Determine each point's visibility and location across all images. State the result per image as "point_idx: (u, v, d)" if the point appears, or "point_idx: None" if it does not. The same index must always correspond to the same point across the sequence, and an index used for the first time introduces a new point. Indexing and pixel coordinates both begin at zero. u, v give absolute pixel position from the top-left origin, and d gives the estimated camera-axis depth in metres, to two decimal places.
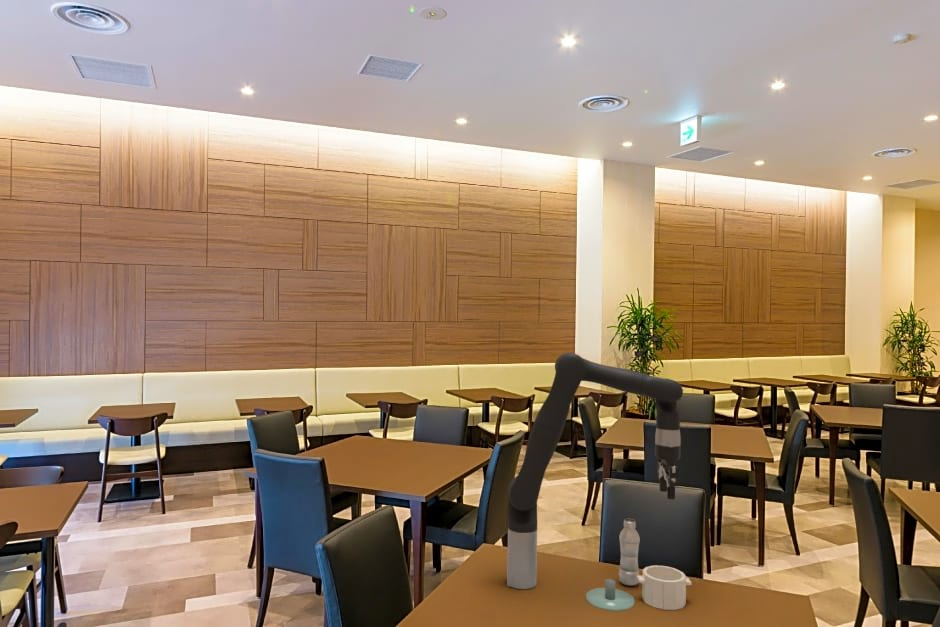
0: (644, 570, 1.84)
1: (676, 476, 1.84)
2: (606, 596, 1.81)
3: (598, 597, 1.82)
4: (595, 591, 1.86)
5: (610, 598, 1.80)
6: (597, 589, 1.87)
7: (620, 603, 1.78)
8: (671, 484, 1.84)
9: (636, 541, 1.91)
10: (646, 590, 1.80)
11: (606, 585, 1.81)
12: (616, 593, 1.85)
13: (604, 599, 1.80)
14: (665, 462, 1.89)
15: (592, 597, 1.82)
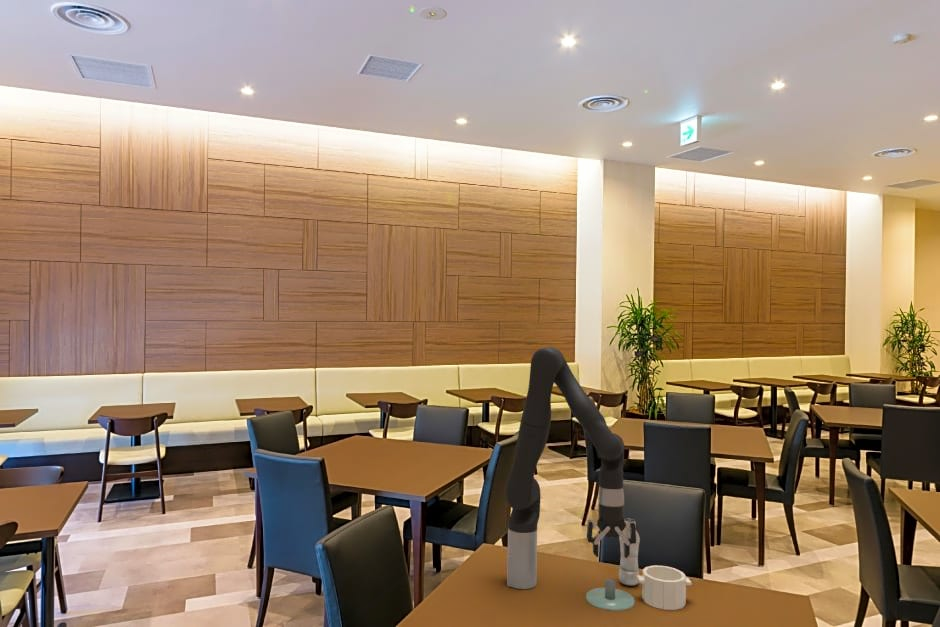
0: (644, 570, 1.84)
1: None
2: (606, 596, 1.81)
3: (598, 597, 1.82)
4: (595, 591, 1.86)
5: (610, 598, 1.80)
6: (597, 589, 1.87)
7: (620, 602, 1.78)
8: None
9: (636, 541, 1.91)
10: (646, 590, 1.80)
11: (606, 585, 1.81)
12: (616, 593, 1.85)
13: (604, 599, 1.80)
14: (617, 522, 1.81)
15: (592, 596, 1.82)
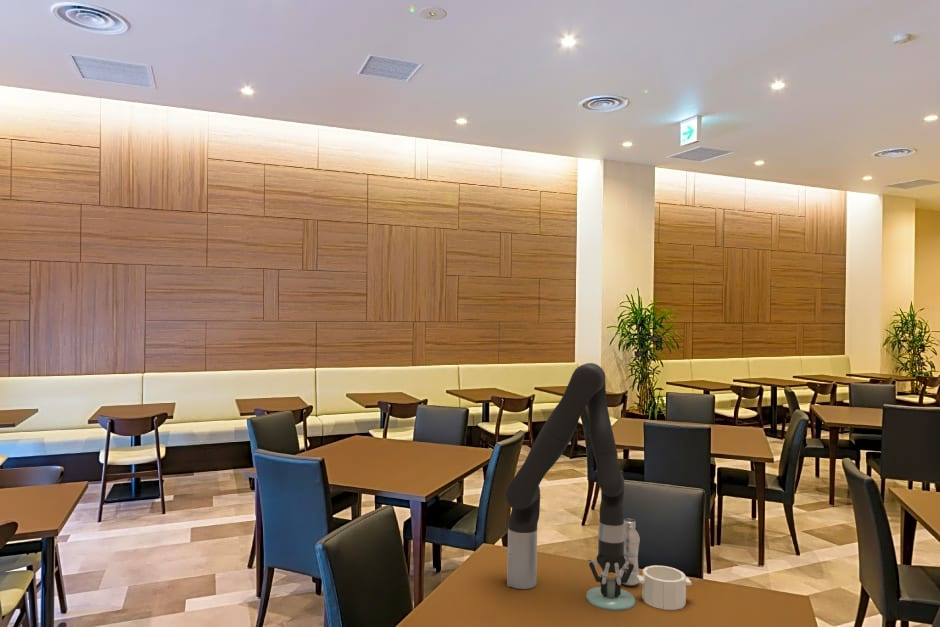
0: (644, 570, 1.84)
1: None
2: (606, 595, 1.81)
3: (598, 596, 1.82)
4: (596, 590, 1.86)
5: (610, 597, 1.80)
6: (597, 588, 1.87)
7: (620, 601, 1.78)
8: None
9: (636, 541, 1.91)
10: (646, 590, 1.80)
11: (606, 584, 1.81)
12: None
13: (604, 598, 1.80)
14: (617, 558, 1.81)
15: (592, 595, 1.82)
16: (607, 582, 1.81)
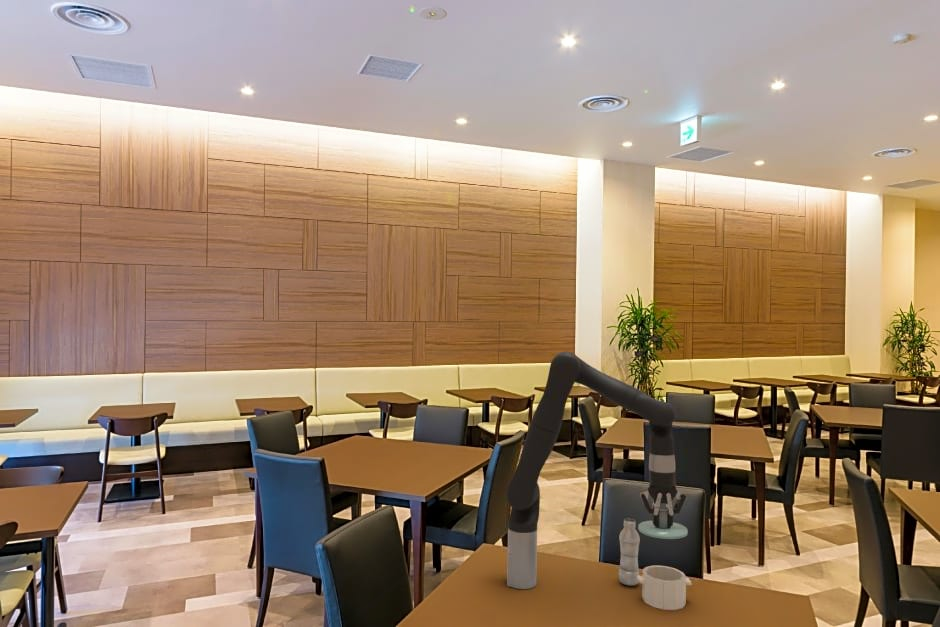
0: (644, 570, 1.84)
1: None
2: (659, 526, 1.81)
3: (650, 527, 1.82)
4: (647, 523, 1.86)
5: (663, 527, 1.80)
6: (648, 522, 1.87)
7: (674, 531, 1.78)
8: None
9: (636, 541, 1.91)
10: (646, 590, 1.80)
11: (658, 515, 1.81)
12: None
13: (657, 528, 1.81)
14: (669, 489, 1.81)
15: (644, 527, 1.82)
16: (659, 513, 1.81)
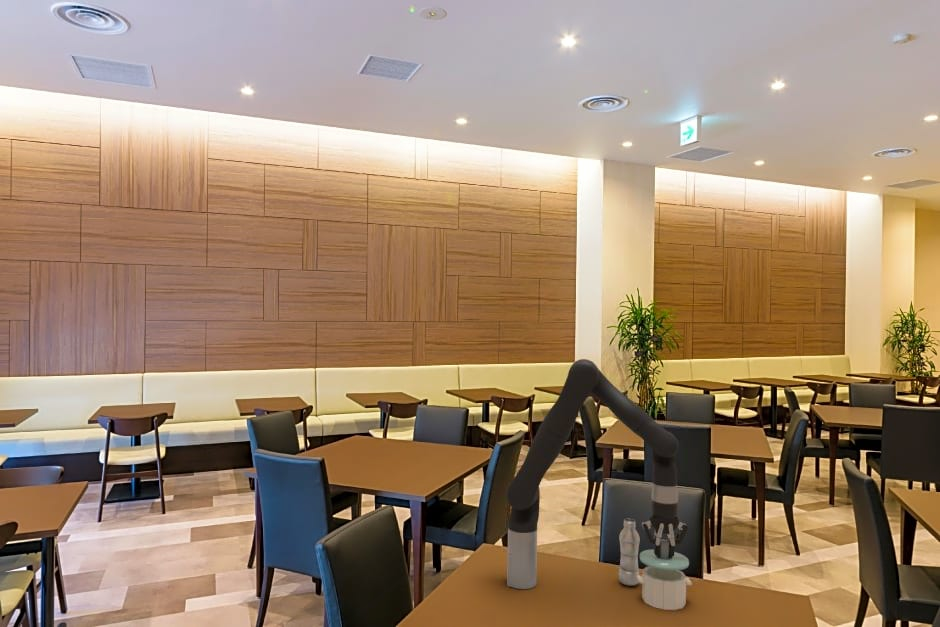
0: (644, 570, 1.84)
1: None
2: (660, 556, 1.81)
3: (651, 557, 1.82)
4: (648, 552, 1.86)
5: (664, 558, 1.81)
6: (650, 551, 1.87)
7: (675, 562, 1.79)
8: None
9: (636, 541, 1.91)
10: (646, 590, 1.80)
11: (660, 545, 1.81)
12: None
13: (658, 559, 1.81)
14: (671, 519, 1.81)
15: (646, 557, 1.82)
16: (661, 543, 1.81)
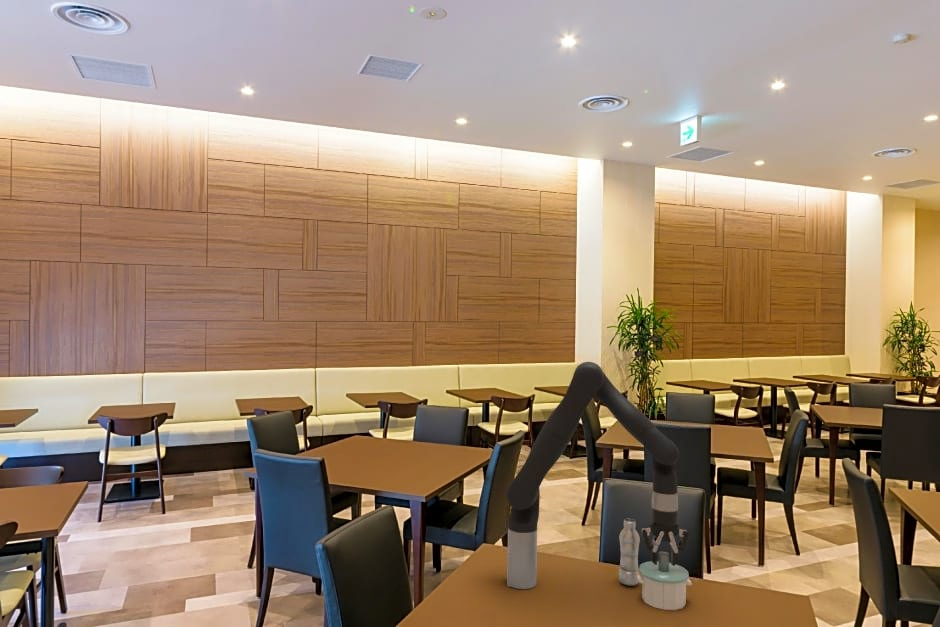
0: None
1: None
2: (660, 568, 1.81)
3: (651, 569, 1.82)
4: (648, 564, 1.86)
5: (664, 570, 1.81)
6: (649, 563, 1.87)
7: (675, 574, 1.79)
8: None
9: (636, 541, 1.91)
10: (646, 590, 1.80)
11: (660, 557, 1.81)
12: (669, 566, 1.85)
13: (658, 571, 1.81)
14: (671, 527, 1.81)
15: (645, 569, 1.82)
16: (661, 556, 1.81)
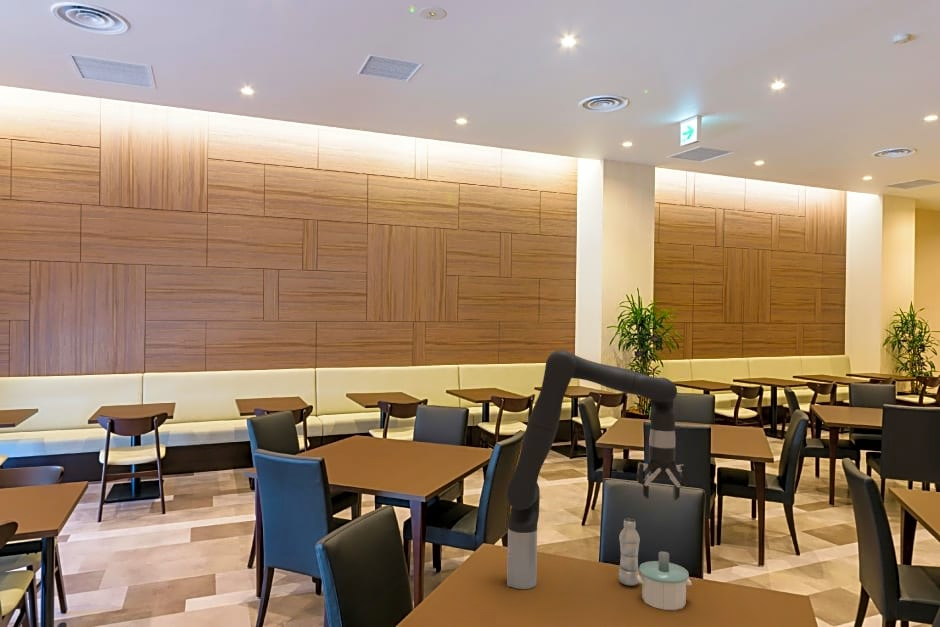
0: None
1: None
2: (660, 568, 1.81)
3: (651, 569, 1.82)
4: (648, 564, 1.86)
5: (664, 570, 1.81)
6: (649, 563, 1.87)
7: (675, 574, 1.79)
8: None
9: (636, 541, 1.91)
10: (646, 590, 1.80)
11: (660, 557, 1.81)
12: (669, 566, 1.85)
13: (658, 571, 1.81)
14: (668, 464, 1.83)
15: (645, 569, 1.82)
16: (661, 556, 1.81)
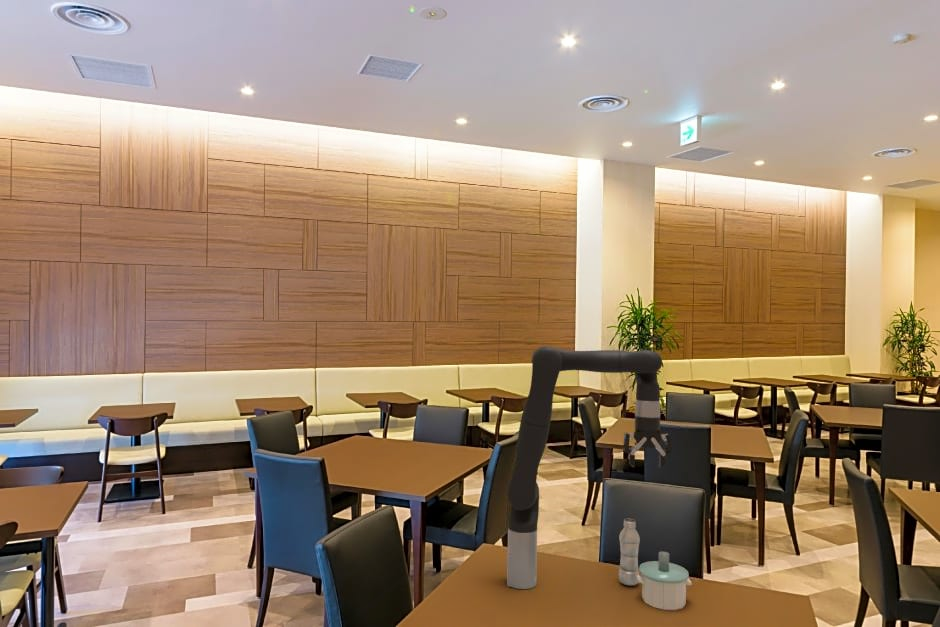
0: None
1: None
2: (660, 568, 1.81)
3: (651, 569, 1.82)
4: (648, 564, 1.86)
5: (664, 570, 1.81)
6: (649, 563, 1.87)
7: (675, 574, 1.79)
8: None
9: (636, 541, 1.91)
10: (646, 590, 1.80)
11: (660, 557, 1.81)
12: (669, 566, 1.85)
13: (658, 571, 1.81)
14: (653, 433, 1.88)
15: (645, 569, 1.82)
16: (661, 556, 1.81)
